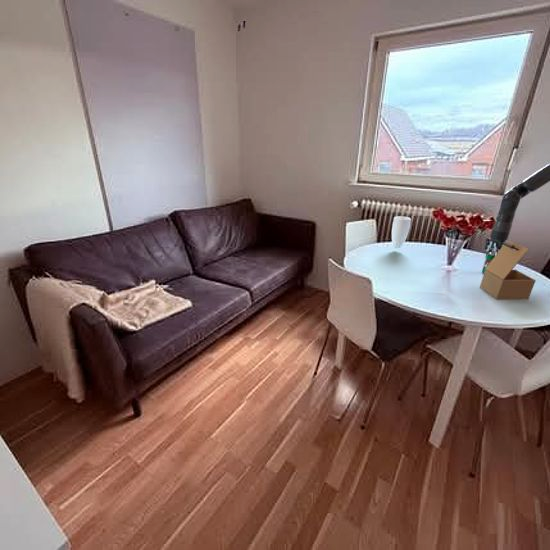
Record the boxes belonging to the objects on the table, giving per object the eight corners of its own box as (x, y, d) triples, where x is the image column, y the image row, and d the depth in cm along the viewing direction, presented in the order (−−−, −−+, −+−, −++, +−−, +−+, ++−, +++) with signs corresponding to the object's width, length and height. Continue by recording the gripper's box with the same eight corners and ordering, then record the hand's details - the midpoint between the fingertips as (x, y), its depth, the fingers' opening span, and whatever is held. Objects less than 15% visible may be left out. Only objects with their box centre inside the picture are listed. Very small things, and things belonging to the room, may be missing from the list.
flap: (508, 240, 142) (500, 236, 141) (529, 249, 131) (520, 245, 130) (485, 269, 147) (478, 265, 146) (503, 279, 136) (495, 275, 136)
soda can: (494, 275, 165) (501, 254, 160) (483, 274, 165) (490, 253, 160) (489, 271, 169) (496, 251, 164) (479, 271, 170) (486, 250, 165)
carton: (509, 287, 152) (515, 269, 148) (528, 299, 141) (535, 280, 137) (479, 287, 151) (485, 269, 147) (496, 299, 140) (503, 280, 137)
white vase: (385, 248, 202) (391, 215, 193) (402, 249, 201) (408, 216, 192) (389, 253, 193) (396, 219, 184) (407, 254, 192) (414, 220, 183)
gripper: (519, 233, 151) (507, 266, 158) (498, 225, 164) (488, 256, 171) (504, 233, 151) (493, 266, 158) (484, 225, 164) (475, 255, 171)
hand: (491, 260), depth 164 cm, fingers open, 5 cm apart
